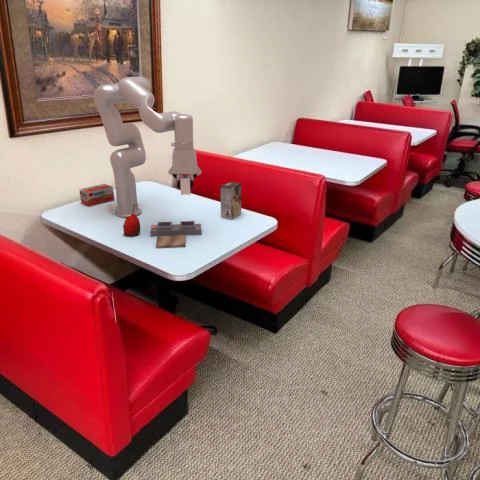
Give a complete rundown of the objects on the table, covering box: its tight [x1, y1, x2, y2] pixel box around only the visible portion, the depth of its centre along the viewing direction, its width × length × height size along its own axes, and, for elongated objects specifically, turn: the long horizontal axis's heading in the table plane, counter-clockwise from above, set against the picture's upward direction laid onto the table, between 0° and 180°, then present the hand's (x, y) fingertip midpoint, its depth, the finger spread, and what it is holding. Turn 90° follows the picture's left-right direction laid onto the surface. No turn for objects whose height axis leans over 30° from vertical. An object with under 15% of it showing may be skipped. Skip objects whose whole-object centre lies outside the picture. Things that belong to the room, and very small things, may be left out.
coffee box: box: [219, 181, 242, 221], centre depth 207 cm, size 9×6×16 cm
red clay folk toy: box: [122, 203, 141, 237], centre depth 186 cm, size 8×7×15 cm
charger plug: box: [180, 174, 191, 195], centre depth 183 cm, size 4×4×8 cm
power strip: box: [149, 220, 202, 238], centre depth 191 cm, size 22×7×4 cm, turn 96°
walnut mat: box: [155, 235, 187, 249], centre depth 182 cm, size 12×10×1 cm
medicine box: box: [79, 183, 115, 208], centre depth 226 cm, size 15×8×8 cm, turn 137°
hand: (185, 188), depth 184 cm, fingers closed on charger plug, 4 cm apart
